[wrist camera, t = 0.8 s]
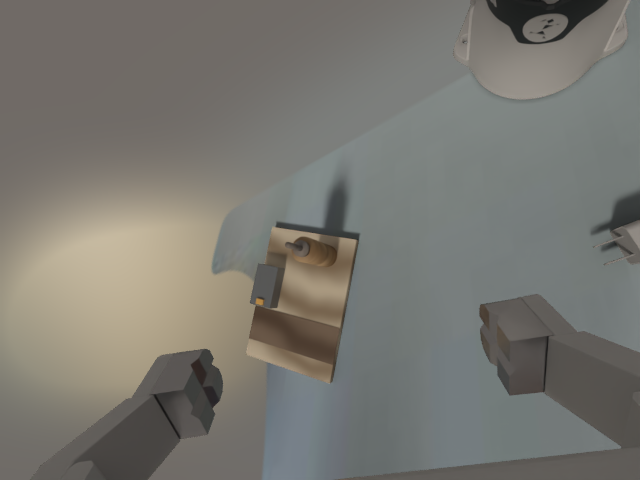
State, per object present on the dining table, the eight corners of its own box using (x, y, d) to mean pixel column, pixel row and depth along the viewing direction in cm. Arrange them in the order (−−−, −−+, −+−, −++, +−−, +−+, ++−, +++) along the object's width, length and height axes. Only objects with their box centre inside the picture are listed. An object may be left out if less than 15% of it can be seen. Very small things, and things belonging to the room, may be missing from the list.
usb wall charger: (676, 249, 35) (701, 243, 32) (603, 274, 37) (618, 272, 34) (653, 215, 36) (674, 206, 33) (583, 241, 38) (595, 235, 35)
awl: (318, 243, 50) (278, 229, 39) (338, 246, 48) (303, 232, 38) (314, 265, 49) (272, 256, 39) (334, 268, 48) (297, 261, 37)
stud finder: (265, 264, 53) (257, 263, 50) (285, 268, 51) (277, 267, 49) (258, 302, 52) (248, 303, 50) (277, 308, 51) (268, 308, 49)
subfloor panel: (275, 228, 54) (272, 226, 53) (358, 240, 48) (356, 239, 48) (249, 353, 53) (245, 354, 52) (332, 381, 47) (329, 383, 46)
